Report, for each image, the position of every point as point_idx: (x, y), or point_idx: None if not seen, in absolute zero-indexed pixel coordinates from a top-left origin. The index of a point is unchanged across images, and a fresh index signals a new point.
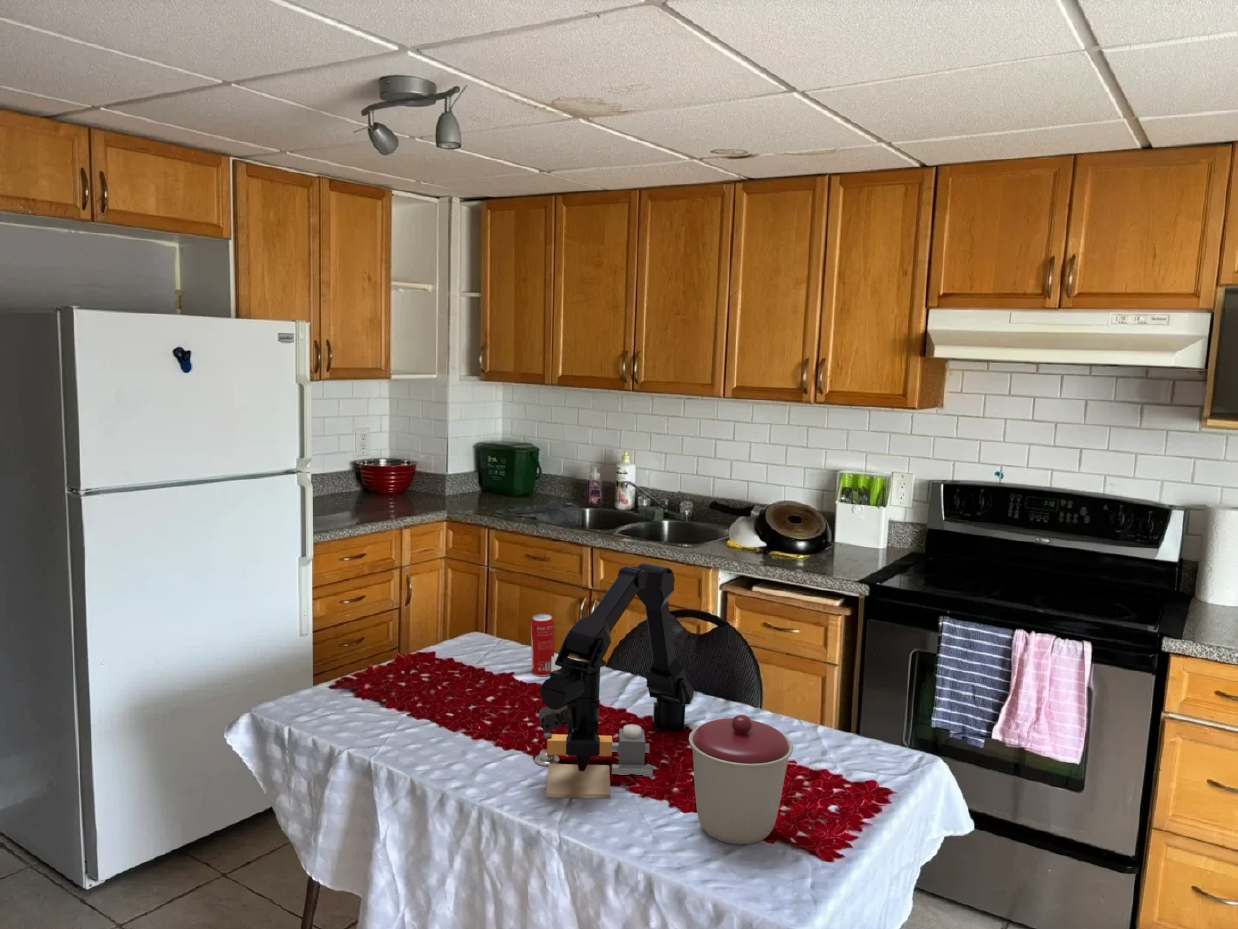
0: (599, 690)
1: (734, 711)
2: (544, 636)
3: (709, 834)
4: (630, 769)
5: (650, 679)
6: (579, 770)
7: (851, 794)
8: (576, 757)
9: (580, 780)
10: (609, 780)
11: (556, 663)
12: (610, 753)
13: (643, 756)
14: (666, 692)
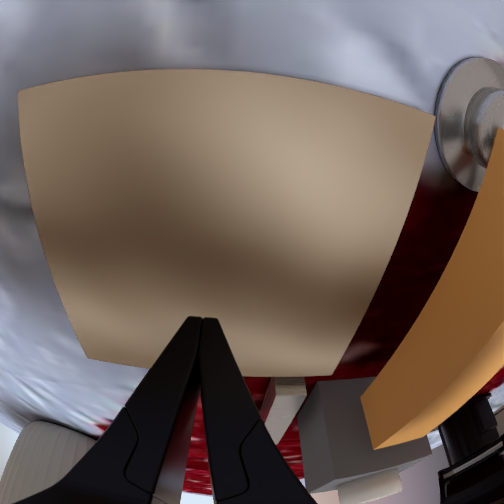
0: None
1: (437, 443)
2: None
3: (39, 421)
4: (264, 420)
5: (498, 490)
6: (187, 319)
7: (200, 489)
8: (127, 404)
9: (183, 281)
10: None
11: None
12: (365, 405)
13: (302, 452)
14: (463, 485)
